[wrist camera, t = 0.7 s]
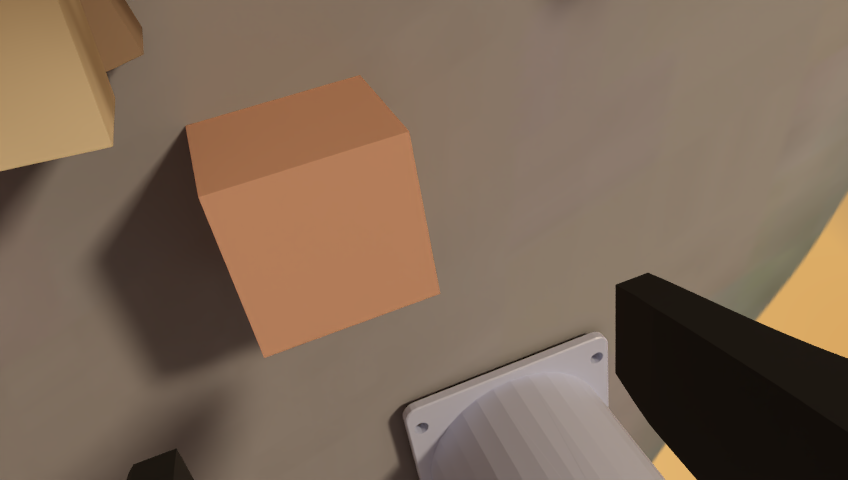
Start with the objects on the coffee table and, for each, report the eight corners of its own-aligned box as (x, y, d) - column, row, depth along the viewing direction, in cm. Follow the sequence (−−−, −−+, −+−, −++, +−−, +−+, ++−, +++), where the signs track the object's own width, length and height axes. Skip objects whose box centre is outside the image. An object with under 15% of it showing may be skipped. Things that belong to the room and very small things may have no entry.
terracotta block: (391, 217, 20) (440, 293, 17) (242, 268, 20) (264, 357, 16) (358, 73, 18) (408, 131, 15) (185, 124, 17) (198, 197, 14)
